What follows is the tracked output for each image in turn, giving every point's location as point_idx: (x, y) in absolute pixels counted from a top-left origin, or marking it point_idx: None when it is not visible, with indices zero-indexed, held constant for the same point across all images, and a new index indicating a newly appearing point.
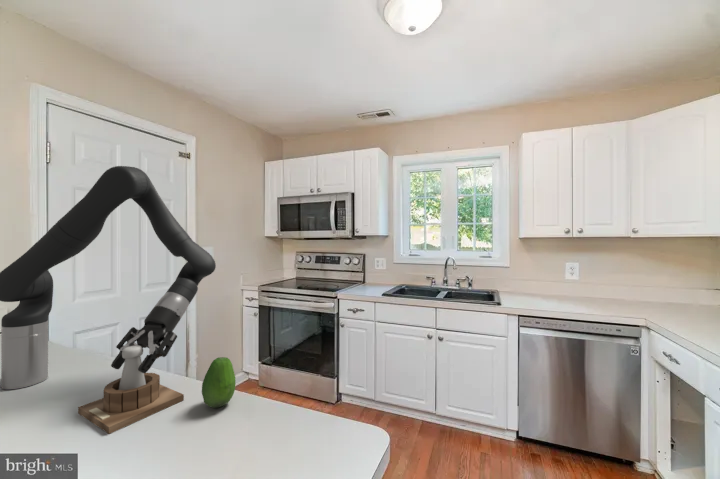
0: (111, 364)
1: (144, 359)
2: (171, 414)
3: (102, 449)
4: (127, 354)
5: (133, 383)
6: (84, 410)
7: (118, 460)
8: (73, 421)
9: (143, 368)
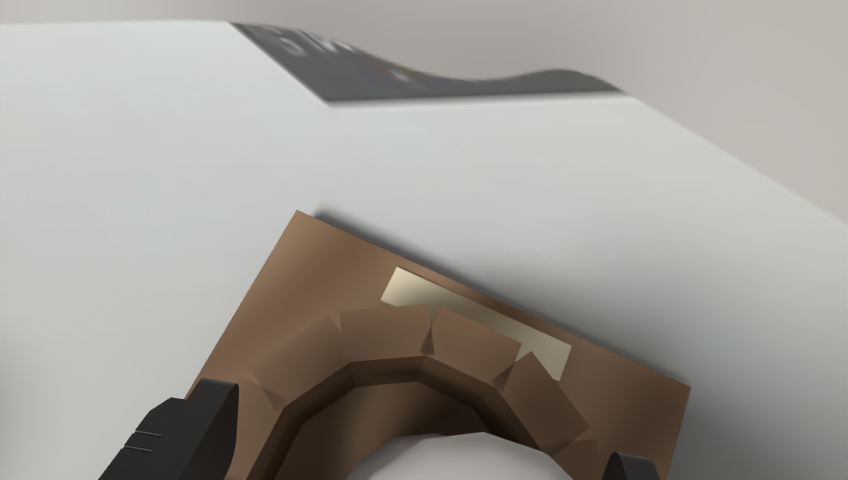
0: (650, 461)
1: (182, 457)
2: (53, 436)
3: (238, 129)
4: (442, 439)
5: (363, 471)
6: (604, 350)
7: (111, 75)
8: (606, 315)
9: (178, 401)
